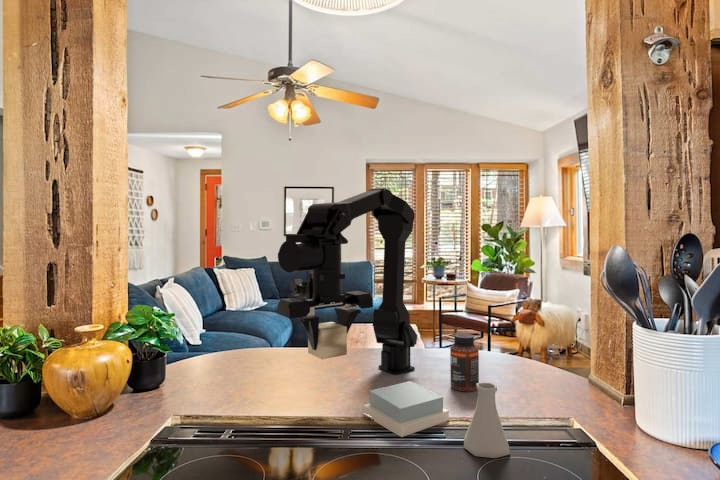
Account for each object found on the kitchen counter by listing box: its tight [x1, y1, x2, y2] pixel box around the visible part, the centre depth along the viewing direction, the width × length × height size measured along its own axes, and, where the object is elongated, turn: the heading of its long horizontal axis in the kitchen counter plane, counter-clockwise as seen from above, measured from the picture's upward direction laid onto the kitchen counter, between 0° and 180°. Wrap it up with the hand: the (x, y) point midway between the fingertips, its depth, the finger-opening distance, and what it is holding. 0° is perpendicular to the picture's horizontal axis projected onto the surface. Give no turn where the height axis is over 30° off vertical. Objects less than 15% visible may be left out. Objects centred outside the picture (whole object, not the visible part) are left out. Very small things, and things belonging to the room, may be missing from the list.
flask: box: [463, 381, 511, 459], centre depth 72 cm, size 7×7×10 cm
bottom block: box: [362, 402, 450, 438], centre depth 83 cm, size 11×11×2 cm
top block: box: [369, 380, 444, 423], centre depth 83 cm, size 10×10×2 cm
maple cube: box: [307, 321, 348, 360], centre depth 90 cm, size 6×6×6 cm
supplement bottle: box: [449, 332, 480, 392], centre depth 98 cm, size 6×6×11 cm
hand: (327, 347), depth 90 cm, fingers closed on maple cube, 5 cm apart
